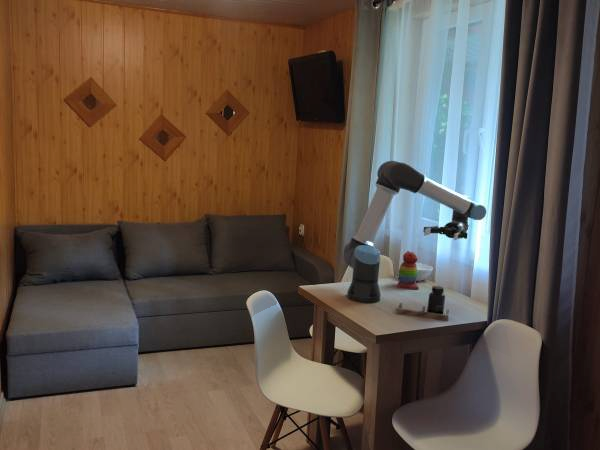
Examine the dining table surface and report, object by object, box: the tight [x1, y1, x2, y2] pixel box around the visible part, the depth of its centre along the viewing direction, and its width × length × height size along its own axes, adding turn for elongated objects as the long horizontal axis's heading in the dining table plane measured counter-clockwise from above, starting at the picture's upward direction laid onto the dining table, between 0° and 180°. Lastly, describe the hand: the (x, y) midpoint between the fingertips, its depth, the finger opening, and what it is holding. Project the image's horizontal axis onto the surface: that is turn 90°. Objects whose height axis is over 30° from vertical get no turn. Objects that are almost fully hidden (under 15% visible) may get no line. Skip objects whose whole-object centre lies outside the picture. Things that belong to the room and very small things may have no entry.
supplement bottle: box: [426, 285, 446, 314], centre depth 250 cm, size 7×7×12 cm
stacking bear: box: [397, 250, 420, 291], centre depth 294 cm, size 11×10×18 cm
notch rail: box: [396, 302, 450, 321], centre depth 251 cm, size 21×10×2 cm, turn 75°
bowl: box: [415, 262, 434, 282], centre depth 311 cm, size 16×16×7 cm
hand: (439, 234), depth 261 cm, fingers open, 13 cm apart
